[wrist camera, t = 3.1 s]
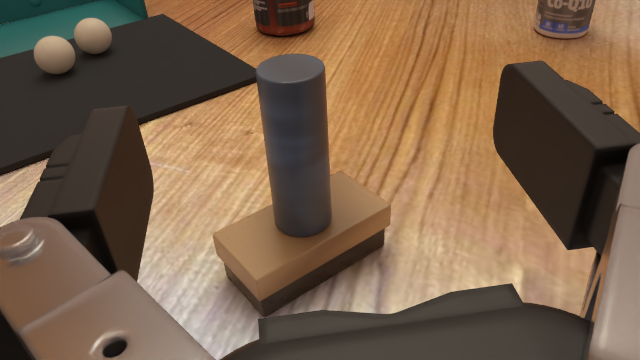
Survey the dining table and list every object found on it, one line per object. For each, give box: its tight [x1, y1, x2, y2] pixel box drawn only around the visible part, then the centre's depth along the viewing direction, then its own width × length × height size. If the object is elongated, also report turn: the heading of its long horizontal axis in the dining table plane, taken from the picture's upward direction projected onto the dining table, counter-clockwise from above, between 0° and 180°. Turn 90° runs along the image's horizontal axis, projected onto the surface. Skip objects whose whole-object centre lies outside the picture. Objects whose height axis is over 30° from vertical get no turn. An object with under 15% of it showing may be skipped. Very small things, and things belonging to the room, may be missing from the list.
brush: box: [213, 54, 391, 317], centre depth 25 cm, size 8×4×11 cm, turn 128°
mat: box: [0, 14, 257, 175], centre depth 47 cm, size 24×20×1 cm
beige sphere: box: [74, 18, 112, 54], centre depth 50 cm, size 3×3×3 cm
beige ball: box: [34, 36, 75, 74], centre depth 47 cm, size 3×3×3 cm
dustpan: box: [0, 0, 148, 58], centre depth 59 cm, size 16×17×3 cm
